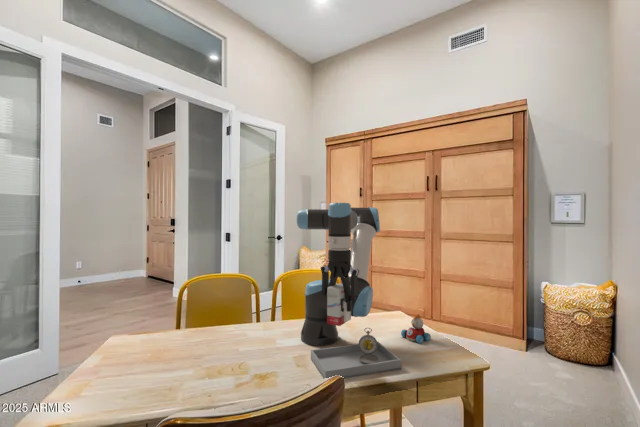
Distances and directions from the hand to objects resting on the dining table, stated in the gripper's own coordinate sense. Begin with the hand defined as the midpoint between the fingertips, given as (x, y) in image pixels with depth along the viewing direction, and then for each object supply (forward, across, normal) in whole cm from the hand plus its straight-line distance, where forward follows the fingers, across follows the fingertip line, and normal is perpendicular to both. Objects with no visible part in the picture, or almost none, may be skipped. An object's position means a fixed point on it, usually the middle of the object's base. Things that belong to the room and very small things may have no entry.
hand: (339, 319), depth 107 cm
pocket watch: (+15, +7, +8) cm, 19 cm away
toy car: (+16, +14, +38) cm, 44 cm away
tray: (+15, +4, +4) cm, 16 cm away
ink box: (+1, 0, 0) cm, 1 cm away
